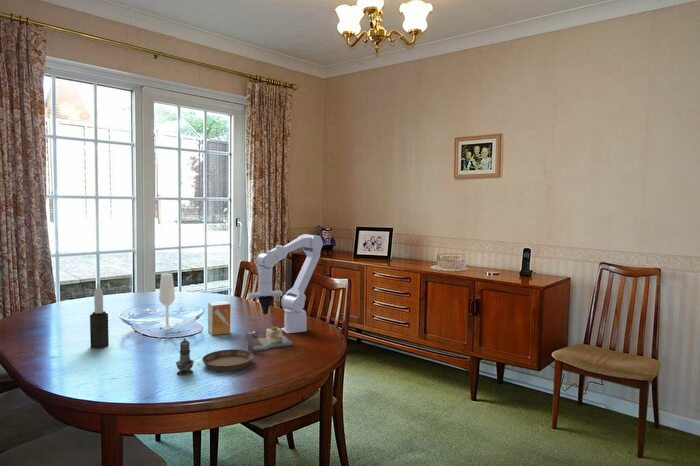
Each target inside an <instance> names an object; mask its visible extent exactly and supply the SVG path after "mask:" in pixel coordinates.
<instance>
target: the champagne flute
mask: <svg viewBox="0 0 700 466" xmlns="http://www.w3.org/2000/svg"><path fill="white" fill-rule="evenodd" d="M173 275H174V274H173V273H170V272H169V273H161V274H160V282H159V283H160V284H159V294H158V295H159V297H158V301H159V302H160V303H161V304H162V305H163V306H164V307H165V323H164V324H162V326H164V327H171V326H172V325H173V324H171V323H169V322H170V320H169V317H170V316H169V315H170V314H169V313H170V312H169V309H170V308H169V306H171V305H172V304H173V303H174V302H175V300H176V295H175V292H176V291H175V284H174V276H173Z"/></svg>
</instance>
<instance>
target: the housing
mask: <svg viewBox="0 0 700 466" xmlns="http://www.w3.org/2000/svg"><path fill="white" fill-rule="evenodd" d="M265 333H266V337H265V338H266V340H268V341H269V342H270V343H274V342H281V341H282V336H283V330H282V329H281V328H280V327H277V326H271V327H269V328H266V332H265Z"/></svg>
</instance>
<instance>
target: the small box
mask: <svg viewBox="0 0 700 466" xmlns="http://www.w3.org/2000/svg"><path fill="white" fill-rule="evenodd" d="M231 307H232V306H231V303H230V302H228V301H227V300H223V301H222V300H221V301H213V302H207V333H208V334H210V335H211V336H217V335H224V334H226V335H227V334H231Z"/></svg>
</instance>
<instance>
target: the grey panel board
mask: <svg viewBox="0 0 700 466" xmlns="http://www.w3.org/2000/svg"><path fill="white" fill-rule="evenodd" d="M252 332H253V331H250V332H249V331H247V332H245V351H249V352H251V353H254V352H260V351H267V350H269V349H272V348H278V347H279V348H280V347H287V346H293V341H291V340H290V338H287V337H286V336H285V335H283V334H282V341H281V342H274V343H270V342H269V341H268V340H266V337H259V338H257V342H258V343H259V344H260V345H255V346H254V339H253V333H252Z"/></svg>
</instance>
